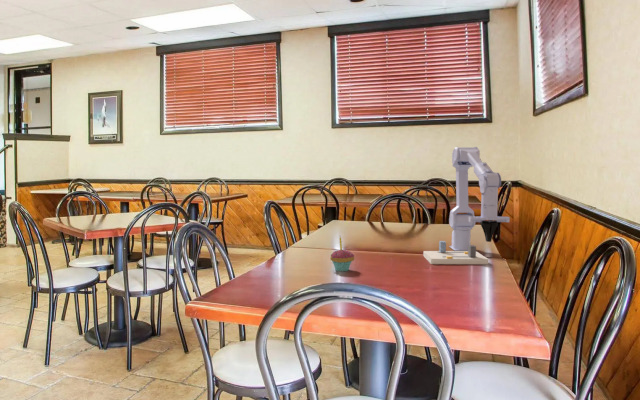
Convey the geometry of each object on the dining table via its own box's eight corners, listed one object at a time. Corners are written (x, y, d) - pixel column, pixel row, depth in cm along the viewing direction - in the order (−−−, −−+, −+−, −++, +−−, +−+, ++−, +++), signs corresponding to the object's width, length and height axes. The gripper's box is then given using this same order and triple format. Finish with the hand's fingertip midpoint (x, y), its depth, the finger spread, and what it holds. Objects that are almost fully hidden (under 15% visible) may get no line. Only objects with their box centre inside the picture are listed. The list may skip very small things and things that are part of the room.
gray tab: (468, 255, 175) (468, 245, 175) (473, 255, 175) (473, 245, 175) (470, 257, 172) (470, 246, 172) (475, 257, 172) (476, 246, 172)
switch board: (423, 255, 186) (423, 249, 186) (475, 256, 185) (476, 249, 185) (431, 264, 171) (431, 257, 171) (488, 264, 170) (488, 257, 170)
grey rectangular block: (439, 250, 185) (439, 240, 184) (444, 250, 185) (444, 240, 184) (440, 252, 182) (440, 242, 181) (445, 252, 182) (446, 242, 181)
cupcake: (326, 268, 165) (326, 235, 164) (347, 266, 168) (347, 233, 167) (336, 273, 157) (336, 238, 156) (358, 271, 160) (358, 237, 159)
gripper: (472, 206, 168) (472, 243, 169) (513, 206, 168) (512, 243, 169) (467, 204, 175) (466, 239, 176) (506, 204, 175) (505, 239, 176)
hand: (488, 241), depth 173 cm, fingers closed
